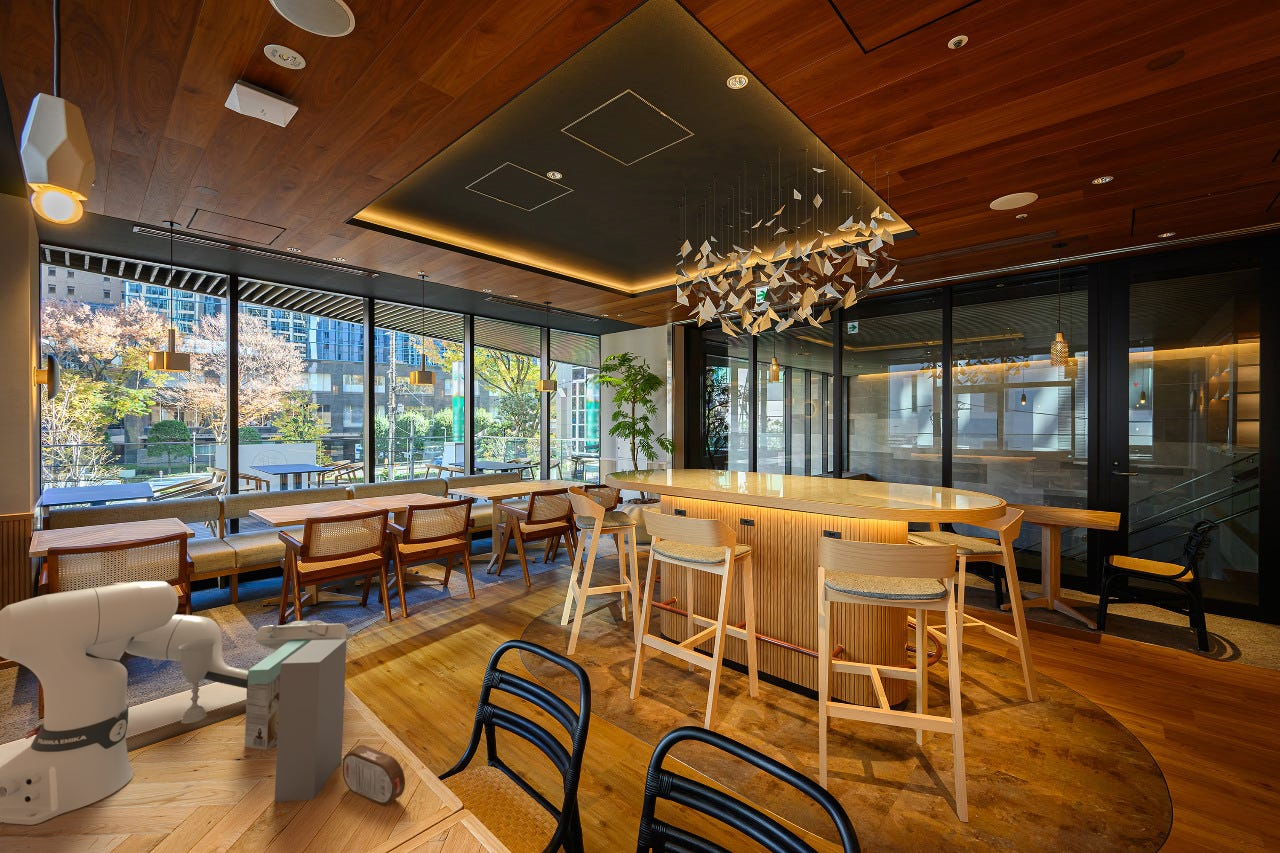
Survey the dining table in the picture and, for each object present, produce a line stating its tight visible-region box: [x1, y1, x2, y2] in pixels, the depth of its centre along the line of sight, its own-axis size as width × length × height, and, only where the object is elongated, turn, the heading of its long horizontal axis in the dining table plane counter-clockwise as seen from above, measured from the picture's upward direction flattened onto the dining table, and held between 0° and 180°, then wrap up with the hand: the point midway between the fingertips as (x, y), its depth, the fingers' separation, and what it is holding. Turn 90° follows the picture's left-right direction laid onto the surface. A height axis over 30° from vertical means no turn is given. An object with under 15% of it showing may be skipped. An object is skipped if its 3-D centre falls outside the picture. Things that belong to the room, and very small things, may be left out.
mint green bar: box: [247, 640, 309, 684], centre depth 121 cm, size 4×18×3 cm, turn 8°
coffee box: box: [244, 674, 280, 751], centre depth 120 cm, size 9×6×16 cm
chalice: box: [179, 639, 216, 724], centre depth 128 cm, size 7×7×18 cm
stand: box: [273, 639, 348, 803], centre depth 106 cm, size 7×12×26 cm, turn 7°
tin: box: [342, 744, 406, 806], centre depth 101 cm, size 15×3×8 cm, turn 65°
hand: (290, 627), depth 126 cm, fingers open, 8 cm apart
